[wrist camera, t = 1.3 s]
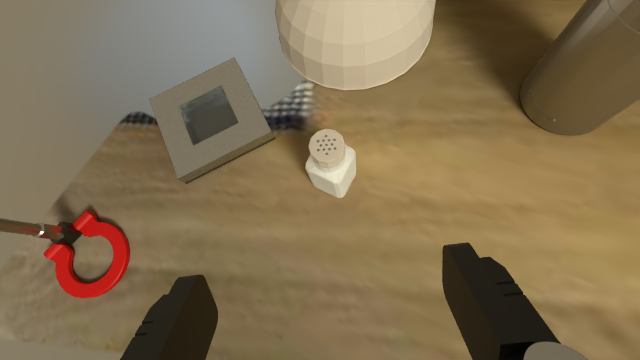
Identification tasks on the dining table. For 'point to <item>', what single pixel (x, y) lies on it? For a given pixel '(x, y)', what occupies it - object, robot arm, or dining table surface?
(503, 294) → the robot arm
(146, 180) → the dining table surface
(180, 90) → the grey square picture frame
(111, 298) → the dining table surface
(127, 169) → the dining table surface
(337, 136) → the salt shaker
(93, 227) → the tow hook
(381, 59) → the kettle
